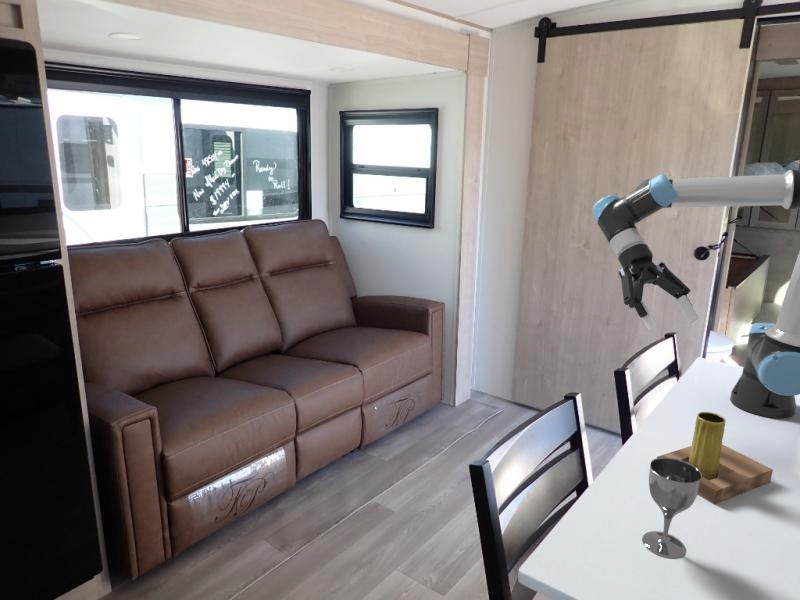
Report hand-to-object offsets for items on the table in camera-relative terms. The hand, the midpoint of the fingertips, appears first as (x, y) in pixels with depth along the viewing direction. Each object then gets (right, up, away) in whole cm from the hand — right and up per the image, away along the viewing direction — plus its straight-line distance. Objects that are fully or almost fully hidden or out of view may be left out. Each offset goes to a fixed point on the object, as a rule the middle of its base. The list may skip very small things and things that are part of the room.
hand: (674, 324), depth 134 cm
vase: (0, -32, -13) cm, 35 cm away
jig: (+2, -32, -11) cm, 34 cm away
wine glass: (-18, -38, -33) cm, 53 cm away
